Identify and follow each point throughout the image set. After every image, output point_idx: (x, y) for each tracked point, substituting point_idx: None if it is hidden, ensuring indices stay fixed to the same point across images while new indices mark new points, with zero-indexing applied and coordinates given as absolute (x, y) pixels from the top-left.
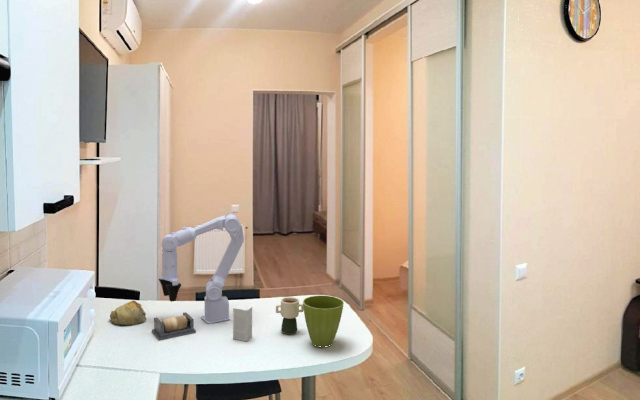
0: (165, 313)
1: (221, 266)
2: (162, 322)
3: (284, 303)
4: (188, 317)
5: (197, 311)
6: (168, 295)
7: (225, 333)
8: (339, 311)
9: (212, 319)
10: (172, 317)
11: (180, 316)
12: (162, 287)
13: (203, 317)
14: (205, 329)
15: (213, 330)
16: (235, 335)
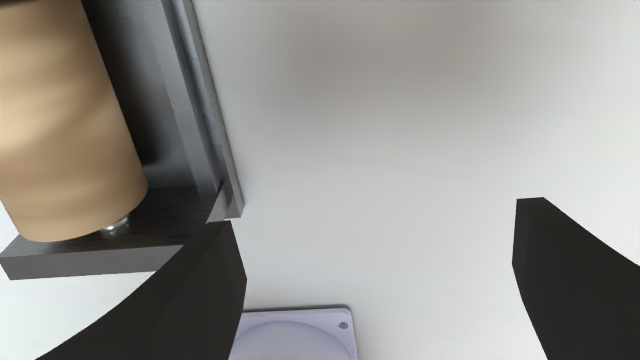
0: (620, 101)
1: None
2: (20, 3)
3: None
4: (54, 255)
5: (499, 318)
6: (514, 250)
7: (43, 346)
8: None
9: (229, 356)
10: (22, 129)
11: (33, 204)
12: (610, 279)
13: (325, 322)
14: (128, 279)
15: (101, 311)
16: None
